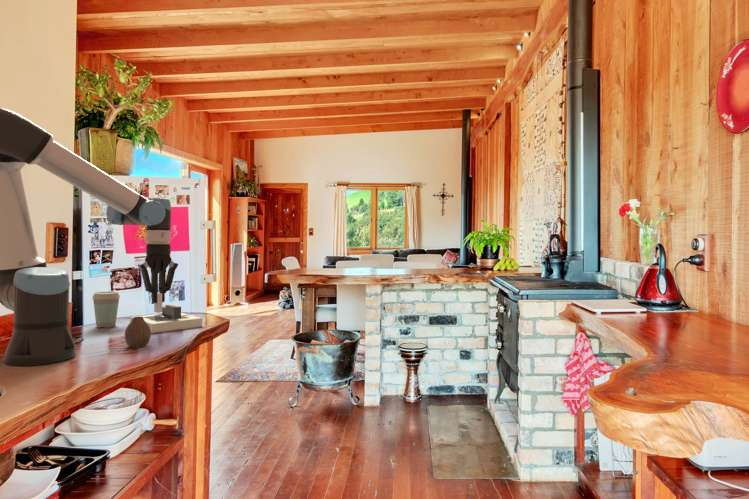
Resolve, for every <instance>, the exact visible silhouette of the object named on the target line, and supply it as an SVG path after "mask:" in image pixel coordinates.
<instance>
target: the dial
mask: <svg viewBox="0 0 749 499" xmlns="http://www.w3.org/2000/svg"><path fill="white" fill-rule="evenodd" d="M181 313H182V306H178V305H175V304H165V306H162V312H161V313H157V314H158V315H155V316H154V321H156V322H160V321H168V320H174V319H178V318H181Z"/></svg>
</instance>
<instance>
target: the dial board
mask: <svg viewBox="0 0 749 499" xmlns="http://www.w3.org/2000/svg"><path fill="white" fill-rule="evenodd" d="M158 314H159V313H157V314H156V313H155V314H146V315H138V316H130V317H129V318H130V319H129V320H130V321H129V324H130V323H131V321H132V320H133V318H134V317H143V319H144V321H145V322H146V323H147V324H148V325H149V327H150V330H151V334H155V333H162V332H168V331H177V330H185V329H192V328H199V326H201V327H203V317H199V316H196V315H192V314H188V313H184V312H181V318H178V319H174V320H168V321H160V322H156V321H154V316H155V315H158Z"/></svg>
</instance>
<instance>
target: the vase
mask: <svg viewBox="0 0 749 499" xmlns="http://www.w3.org/2000/svg"><path fill="white" fill-rule="evenodd" d="M133 317H134V318H133V320H132V321H131V323H130V322H129V323H128V325H127V327H126V328H125V331H124V341H125V343H126V345H127V346H128V347H129V348H131V349H140V348H141V349H142V348H144V347H146V346H147V345H148V344H149V343H150V340H151V336H152V333H151V330H150V327H149V325H148V324H147V323H146V322H145V321H144V319H143V317H135V316H133Z"/></svg>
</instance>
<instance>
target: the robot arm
mask: <svg viewBox="0 0 749 499" xmlns="http://www.w3.org/2000/svg"><path fill="white" fill-rule="evenodd" d="M26 164H27V165H30V166H31V165H37V166H39V167H41V168H42V169H44V170H45V171H47V172H49V173H51V174H52V175H54V176H56V177H58V178H60V179H61V180H63V181H65V182H67V183H69V185H72V186H74V187H76V188H77V189H79V190H81V191H82V192H84V193H85V194H86V193H87V195H89V196H91V197H93V198H95V199H97V200H99V202H102V203H103V204H105V205H107V207H106V211H105V212H106V220H107V221H108V223H109V224H111V225H114V226H115V225H116V226H117V225H118V226H121V225H122V226H145V228H146V233H145V234H146V240H145V241H146V242H147V244H146V246H145V247H146V248H145V250H146V254H145V255H146V257H145V259H144V261H143V262H141V263H139V264H137V267H138V269H139V270H140V273H141V276H142V281H143V284H144V288H145V289H144V290H145V291H146V292H149V293H150V294H151V303H153V304H154V308H153V310H154V311H153V312H155V313H157V314H161V313H162V307H163V303H164V302H165V299H166V298H165V297H166V293H167V292H169V291H171V288H172V285H173V282H174V281H173V280H174V276H175V273H176V269H177V268H178V266H179V264H178V263H177V262H174V261H173V259H172V258H171V254H172V253H171V251H172V250H171V244H170V243H171V231H172V230H171V229H172V228H171V224H172V222H171V220H172V217H171V216H172V207H171V206H172V205H171V200H170V199H169V198H167V197H155V196H154V197H151V196H150V197H145V196H143V195H142V194H140V193H138V192H136V191H135V190H134V189H132V188H130V187H129V186H127V185H126V184H124V183H123V182H120V181H119V180H117V179H116V178H114V177H113V176H111V175H109V174H108V173H106V172H105V171H103V170H101V169H100V168H98V167H97V166H96V165H93V164H92V163H90V162H89V161H87V160H85V159H84V158H82V157H81V156H79V155H78V154H76V153H74V152H73V151H71V150H70V149H68V148H66V147H65V146H63V145H62V144H60V143H58V142H57V141H55V140H54V136H53V134H52V133H50V132H48V131H47V130H45V129H44V128H42V127H40V126H39V125H37V124H35V123H34V122H33V121H31V120H30V119H28V118H26V117H24V116H22V115H21V114H19V113H18V112H15V111H13V110H11V109H7V108H4V107H3V108H1V107H0V304H1V305H2V306H3V307H4V308H6V309H8V310H11V311H13V332H12V335H11V338H10V340H9V342H8V345H7V347H6V350H5V352H4V363H5V364H6V365H10V366H24V367H25V366H40V365H47V364H54V363H59V362H63V361H67V360H69V359H72V358H75V356H76V355H77V348H76V344H75V341H74V338H73V336H72V333H71V331H70V328H69V315H70V314H69V313H70V312H69V311H70V310H69V308H70V307H69V306H70V304H69V303H70V285H71V283H70V278H69V273H68V272H67V271H65V270H63V269H60V268H53V267H48V266H47V262H46V259H44V258H41V256H39V255H38V249H37V245H36V240H35V236H34V230H33V225H32V220H31V215H30V212H29V207H28V200H27V198H26V191H25V187H24V183H23V178H22V172H21V170H22V169H23V168H24V166H26ZM168 267H169V268H168ZM148 268H149V269H150V274H151V276H150V274H149V271H148ZM167 268H168V270H167ZM166 273H167V274H166Z"/></svg>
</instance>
